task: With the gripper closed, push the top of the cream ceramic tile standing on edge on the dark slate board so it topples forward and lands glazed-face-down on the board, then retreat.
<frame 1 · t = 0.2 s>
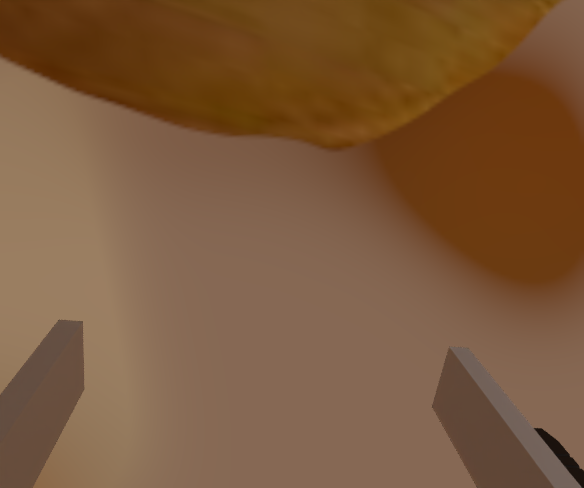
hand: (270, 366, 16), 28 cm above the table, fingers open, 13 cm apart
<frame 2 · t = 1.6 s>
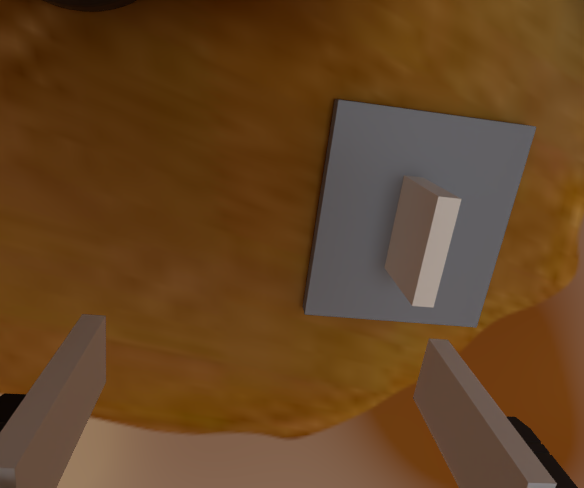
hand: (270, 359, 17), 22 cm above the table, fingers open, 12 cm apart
tile: (403, 224, 38), point 1 cm above the table, touching board
board: (408, 220, 39), on the table
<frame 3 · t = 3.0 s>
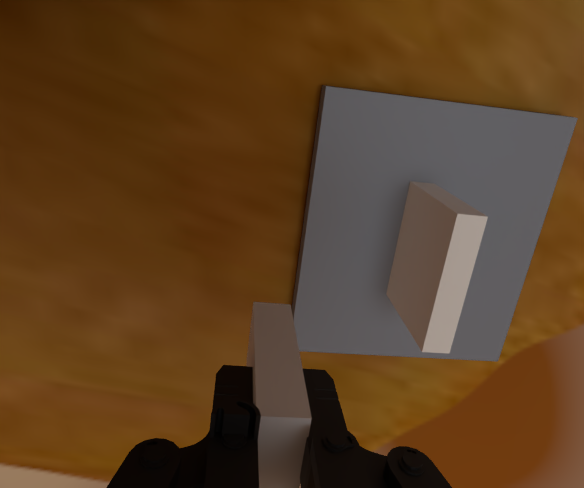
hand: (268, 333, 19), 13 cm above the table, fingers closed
tile: (409, 241, 30), point 1 cm above the table, touching board
board: (415, 234, 32), on the table
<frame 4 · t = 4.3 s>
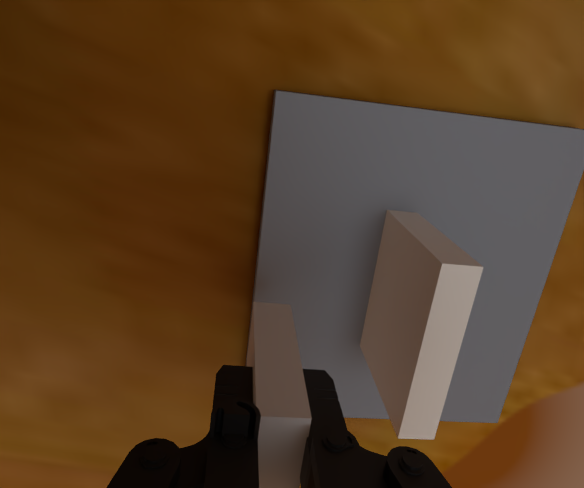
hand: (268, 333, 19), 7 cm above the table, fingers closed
tile: (387, 282, 24), point 1 cm above the table, touching board
board: (396, 272, 26), on the table
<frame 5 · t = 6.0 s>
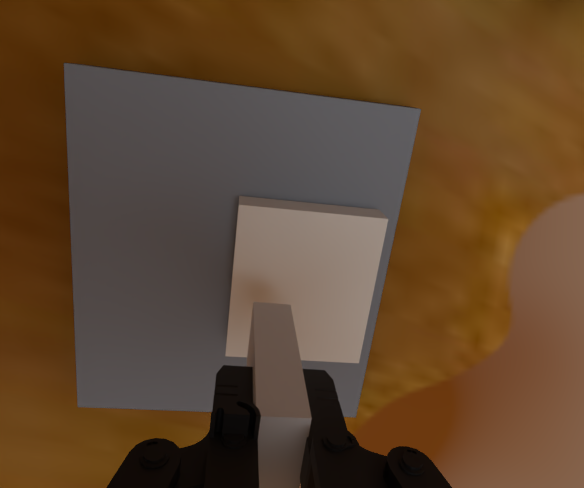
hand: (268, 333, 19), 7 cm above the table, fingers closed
tile: (232, 278, 23), point 2 cm above the table, tilted 90°, touching board
board: (235, 259, 25), on the table
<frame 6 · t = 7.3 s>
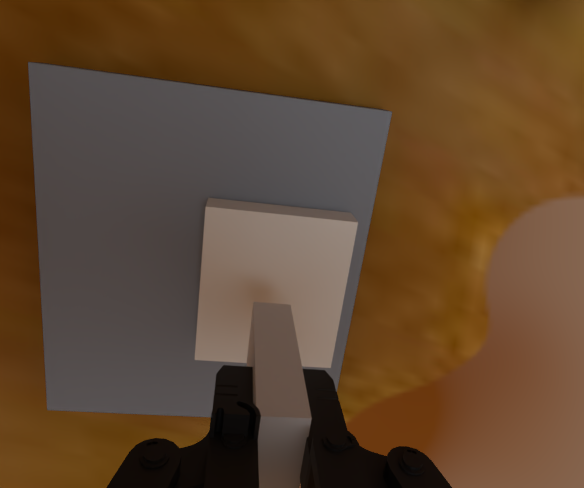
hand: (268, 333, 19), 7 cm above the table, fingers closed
tile: (201, 280, 22), point 2 cm above the table, tilted 90°, touching board
board: (207, 262, 25), on the table
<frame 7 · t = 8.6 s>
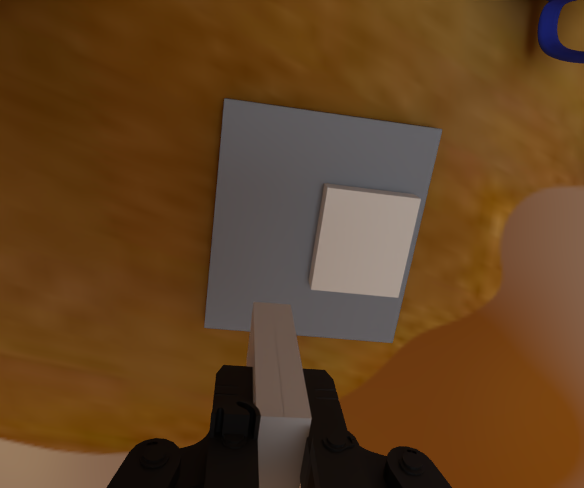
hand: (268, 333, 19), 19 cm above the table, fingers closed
tile: (317, 237, 35), point 2 cm above the table, tilted 90°, touching board
board: (314, 228, 37), on the table
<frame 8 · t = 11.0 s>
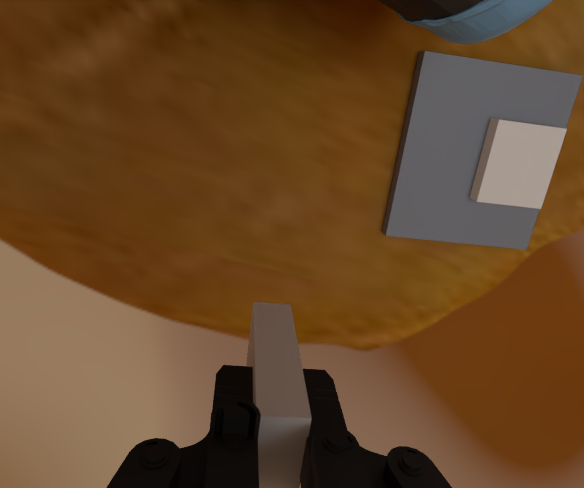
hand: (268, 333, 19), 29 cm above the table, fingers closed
tile: (483, 160, 45), point 2 cm above the table, tilted 90°, touching board
board: (473, 156, 47), on the table
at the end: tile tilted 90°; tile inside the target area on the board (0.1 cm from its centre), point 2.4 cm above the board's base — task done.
